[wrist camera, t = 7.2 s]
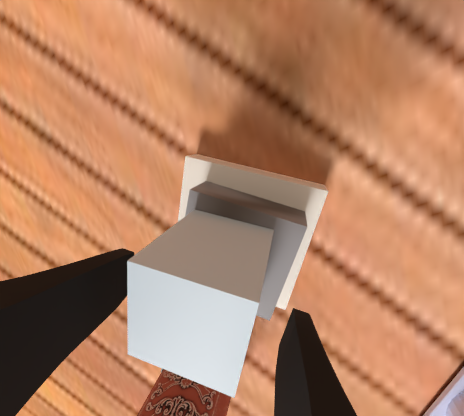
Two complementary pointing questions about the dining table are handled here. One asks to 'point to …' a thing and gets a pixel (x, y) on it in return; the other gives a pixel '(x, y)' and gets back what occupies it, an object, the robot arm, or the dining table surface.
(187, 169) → the base slab
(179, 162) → the dining table surface
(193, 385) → the lighter
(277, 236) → the gray slab
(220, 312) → the gray block
